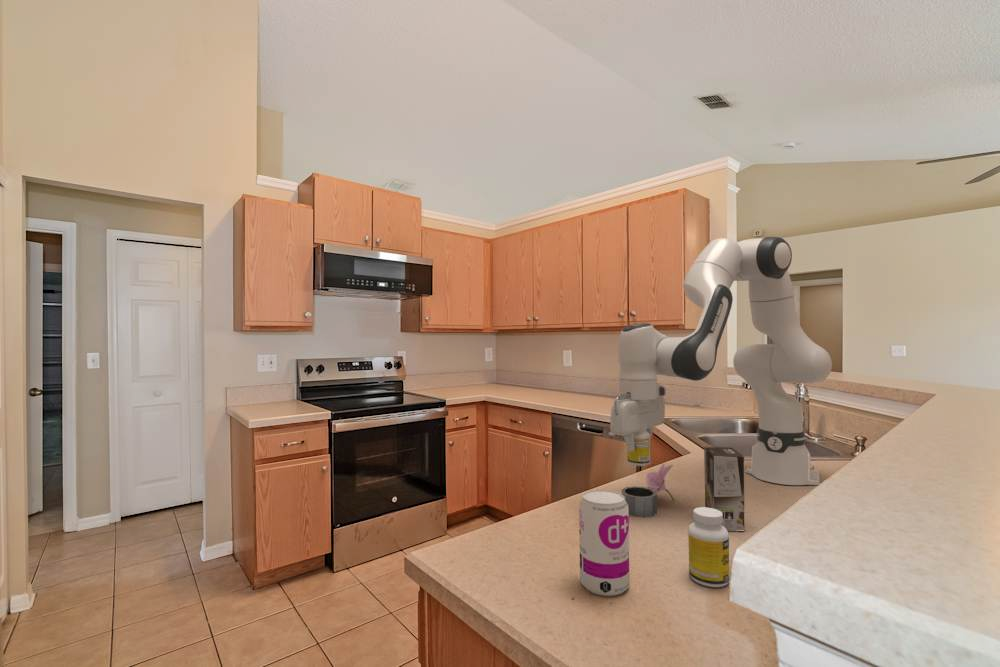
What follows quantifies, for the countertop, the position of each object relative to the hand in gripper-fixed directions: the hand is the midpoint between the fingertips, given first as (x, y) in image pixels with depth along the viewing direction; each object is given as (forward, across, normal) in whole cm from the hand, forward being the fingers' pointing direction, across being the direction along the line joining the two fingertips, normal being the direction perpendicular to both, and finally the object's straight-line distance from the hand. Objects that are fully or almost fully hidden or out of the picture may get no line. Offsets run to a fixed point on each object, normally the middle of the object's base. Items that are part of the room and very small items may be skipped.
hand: (638, 448), depth 115 cm
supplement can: (+15, -35, -12) cm, 40 cm away
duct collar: (+15, 0, 0) cm, 15 cm away
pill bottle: (+15, -21, -24) cm, 36 cm away
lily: (+15, +9, 0) cm, 18 cm away
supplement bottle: (+4, 0, 0) cm, 4 cm away
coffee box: (+15, +6, -18) cm, 24 cm away
